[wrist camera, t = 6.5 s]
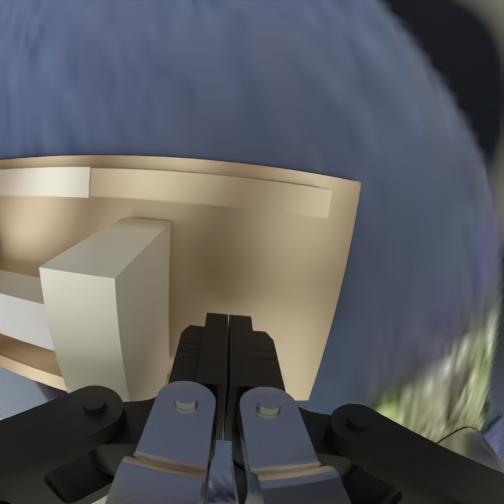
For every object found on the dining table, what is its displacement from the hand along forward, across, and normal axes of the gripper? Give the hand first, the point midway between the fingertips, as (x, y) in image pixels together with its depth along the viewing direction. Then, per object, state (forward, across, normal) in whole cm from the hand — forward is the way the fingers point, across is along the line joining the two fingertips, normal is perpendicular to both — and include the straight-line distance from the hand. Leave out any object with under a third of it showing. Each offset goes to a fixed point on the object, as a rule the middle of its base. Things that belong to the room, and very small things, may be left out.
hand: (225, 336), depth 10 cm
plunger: (+3, +7, 0) cm, 8 cm away
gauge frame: (+4, +7, 0) cm, 8 cm away
